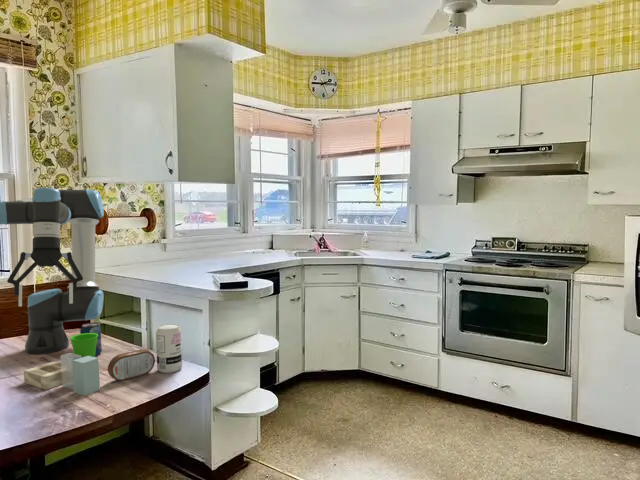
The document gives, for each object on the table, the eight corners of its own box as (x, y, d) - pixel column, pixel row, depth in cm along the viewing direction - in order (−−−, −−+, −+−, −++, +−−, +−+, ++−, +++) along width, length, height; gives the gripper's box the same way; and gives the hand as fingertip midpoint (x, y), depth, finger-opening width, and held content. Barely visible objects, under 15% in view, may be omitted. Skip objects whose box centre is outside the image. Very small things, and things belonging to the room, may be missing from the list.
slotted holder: (55, 372, 158) (54, 361, 157) (76, 379, 152) (75, 367, 151) (24, 382, 149) (23, 370, 149) (45, 389, 143) (45, 377, 143)
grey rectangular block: (71, 383, 148) (69, 352, 147) (82, 386, 145) (81, 355, 144) (62, 386, 145) (60, 355, 145) (73, 390, 143) (72, 358, 142)
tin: (152, 369, 160) (151, 346, 159) (156, 372, 157) (155, 347, 157) (107, 382, 149) (106, 356, 148) (111, 384, 147) (110, 358, 146)
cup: (88, 372, 158) (86, 340, 157) (65, 370, 160) (63, 339, 159) (105, 363, 166) (104, 333, 166) (83, 362, 168) (81, 332, 167)
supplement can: (160, 365, 163) (159, 324, 162) (184, 365, 164) (183, 323, 163) (154, 374, 155) (152, 330, 154) (179, 373, 156) (178, 329, 155)
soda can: (103, 356, 175) (101, 324, 174) (82, 359, 171) (81, 327, 170) (100, 351, 181) (98, 321, 180) (80, 354, 177) (78, 323, 176)
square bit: (89, 386, 145) (88, 355, 144) (99, 389, 142) (98, 358, 142) (74, 392, 141) (72, 360, 140) (84, 395, 138) (83, 363, 137)
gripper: (-2, 234, 135) (-3, 307, 133) (92, 236, 150) (92, 302, 148) (-2, 238, 142) (-3, 307, 139) (88, 239, 156) (88, 302, 154)
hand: (46, 305), depth 143 cm, fingers open, 13 cm apart
